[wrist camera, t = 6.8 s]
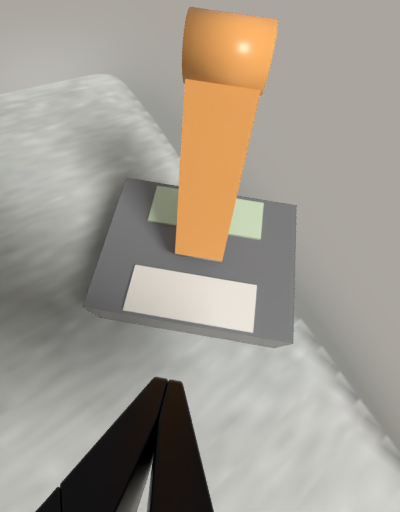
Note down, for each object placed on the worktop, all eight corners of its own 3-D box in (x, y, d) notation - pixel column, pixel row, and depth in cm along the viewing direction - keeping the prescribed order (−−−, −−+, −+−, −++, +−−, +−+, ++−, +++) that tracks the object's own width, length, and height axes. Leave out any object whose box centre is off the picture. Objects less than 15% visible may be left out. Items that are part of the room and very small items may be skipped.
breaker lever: (221, 272, 17) (280, 19, 9) (171, 264, 17) (184, 5, 9) (224, 248, 19) (275, 19, 11) (178, 240, 19) (195, 7, 11)
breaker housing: (274, 347, 20) (294, 343, 16) (100, 317, 20) (81, 306, 16) (280, 229, 23) (297, 203, 20) (135, 205, 24) (125, 176, 20)
